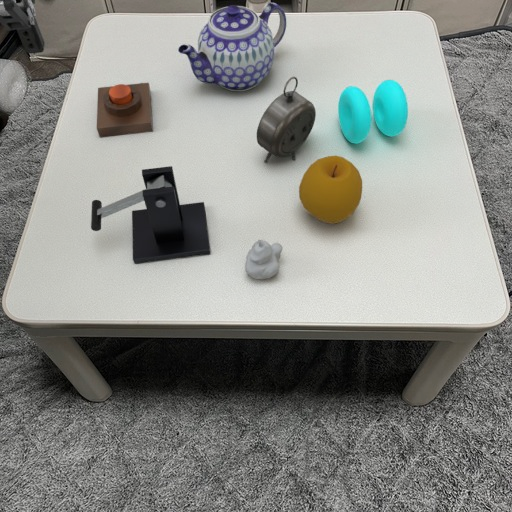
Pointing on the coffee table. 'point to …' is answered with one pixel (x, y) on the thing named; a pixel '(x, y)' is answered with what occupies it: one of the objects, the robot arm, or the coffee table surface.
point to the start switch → (124, 112)
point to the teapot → (235, 47)
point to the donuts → (384, 110)
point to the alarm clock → (286, 124)
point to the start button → (120, 94)
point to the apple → (331, 189)
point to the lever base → (167, 223)
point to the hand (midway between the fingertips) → (36, 49)
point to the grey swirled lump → (263, 259)
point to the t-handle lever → (122, 202)
